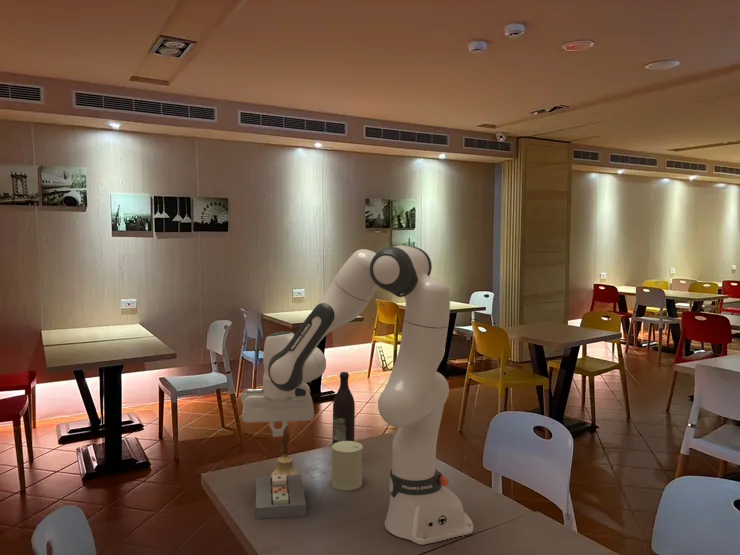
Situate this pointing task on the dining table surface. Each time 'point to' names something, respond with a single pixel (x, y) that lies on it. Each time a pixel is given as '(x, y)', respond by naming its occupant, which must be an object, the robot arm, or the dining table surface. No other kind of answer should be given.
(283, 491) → the button three
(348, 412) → the wine bottle
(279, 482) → the button one
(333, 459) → the can
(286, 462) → the hand bell
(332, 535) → the dining table surface
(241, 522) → the dining table surface
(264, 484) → the button panel
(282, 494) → the button two
